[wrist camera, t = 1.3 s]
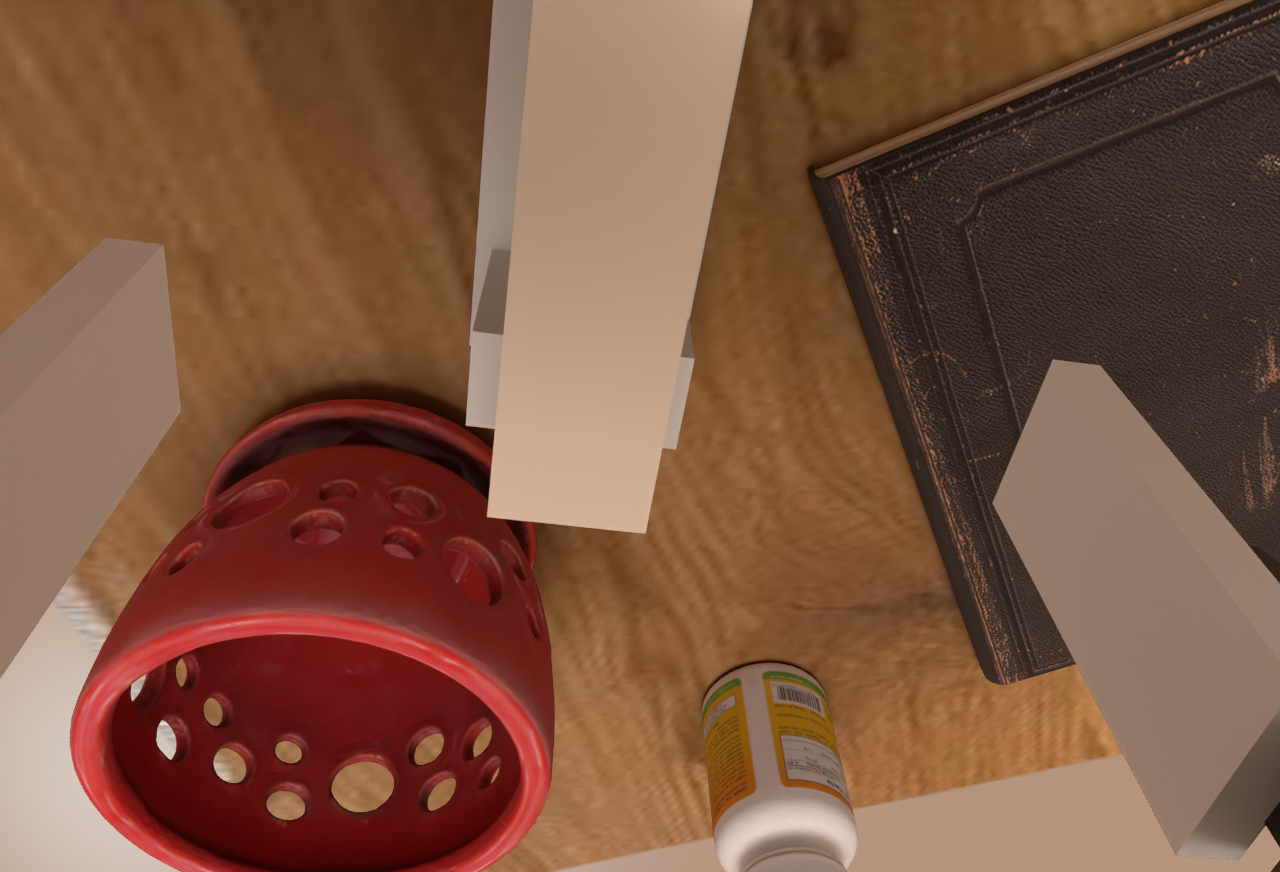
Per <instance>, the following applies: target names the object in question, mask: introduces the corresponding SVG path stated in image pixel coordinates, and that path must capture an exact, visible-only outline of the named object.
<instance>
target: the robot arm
mask: <svg viewBox="0 0 1280 872" xmlns="http://www.w3.org/2000/svg"><path fill="white" fill-rule="evenodd" d="M180 412H181V406H180V397H179V387H178V378H177V368H176V359H175V349H174V340H173V330H172V320H171V311H170V301H169V292H168V282H167V273H166V263H165V254H164V245H163V244H155V243H148V242H140V241H132V240H124V239H117V238H109V237H106V238H105V239H104V240H103V241H102V242H101V243H100V244H99V245H97V246H96V247H95V248H94V249H93V250H92V251H91V252H90V253H89V254H88V255H87V256H85V257H84V258H83V259H82V260H81V261H80V262H79V263H78V264H77V265H76V266H75V267H74V268H72V269H71V270H70V271H69V272H68V273H67V274H66V275H65V276H64V277H63V278H62V279H60V280H59V281H58V282H57V283H56V284H55V285H54V286H53V287H52V288H51V289H50V290H48V291H47V292H46V293H45V294H44V295H43V296H42V297H41V298H40V299H39V300H38V301H37V302H35V303H34V304H33V305H32V306H31V307H30V308H29V309H28V310H27V311H26V312H25V313H23V314H22V315H21V316H20V317H19V318H18V319H17V320H16V321H15V322H14V323H13V324H11V325H10V326H9V327H8V328H7V329H6V330H5V331H4V332H3V333H2V334H1V335H0V678H1V677H2V675H3V674H4V672H5V671H6V669H7V668H8V667H9V665H10V663H11V662H12V661H13V659H14V658H15V656H16V655H17V653H18V652H19V650H20V649H21V647H22V645H23V644H24V643H25V641H26V640H27V638H28V636H29V635H30V634H31V632H32V631H33V629H34V628H35V627H36V625H37V624H38V622H39V620H40V619H41V618H42V616H43V615H44V613H45V612H46V610H47V609H48V607H49V606H50V604H51V603H52V601H53V600H54V598H55V597H56V595H57V594H58V592H59V591H60V590H61V588H62V587H63V585H64V584H65V582H66V581H67V579H68V578H69V576H70V575H71V573H72V572H73V570H74V569H75V567H76V566H77V564H78V563H79V561H80V560H81V558H82V557H83V555H84V554H85V553H86V551H87V550H88V548H89V547H90V545H91V544H92V542H93V541H94V539H95V538H96V536H97V535H98V533H99V532H100V530H101V529H102V527H103V526H104V524H105V523H106V521H107V520H108V518H109V517H110V515H111V514H112V513H113V511H114V510H115V508H116V507H117V505H118V504H119V502H120V501H121V499H122V498H123V496H124V495H125V493H126V492H127V490H128V489H129V487H130V486H131V484H132V483H133V481H134V480H135V478H136V477H137V475H138V474H139V473H140V471H141V470H142V468H143V467H144V465H145V464H146V462H147V461H148V459H149V458H150V456H151V455H152V453H153V452H154V450H155V449H156V447H157V446H158V444H159V443H160V441H161V440H162V438H163V437H164V436H165V434H166V433H167V431H168V430H169V428H170V427H171V425H172V424H173V422H174V421H175V419H176V418H177V416H178V415H179V413H180ZM993 505H994V507H995V509H996V511H997V513H998V515H999V517H1000V519H1001V521H1002V522H1003V524H1004V526H1005V528H1006V530H1007V532H1008V534H1009V536H1010V538H1011V540H1012V542H1013V544H1014V546H1015V547H1016V549H1017V551H1018V553H1019V555H1020V557H1021V559H1022V561H1023V563H1024V565H1025V567H1026V569H1027V570H1028V572H1029V574H1030V576H1031V578H1032V580H1033V582H1034V584H1035V586H1036V588H1037V590H1038V592H1039V594H1040V595H1041V597H1042V599H1043V601H1044V603H1045V605H1046V607H1047V609H1048V611H1049V613H1050V615H1051V617H1052V619H1053V620H1054V622H1055V624H1056V626H1057V628H1058V630H1059V632H1060V634H1061V636H1062V638H1063V640H1064V642H1065V643H1066V645H1067V647H1068V649H1069V651H1070V653H1071V655H1072V657H1073V659H1074V661H1075V663H1076V665H1077V667H1078V668H1079V670H1080V672H1081V674H1082V676H1083V678H1084V680H1085V682H1086V684H1087V686H1088V688H1089V690H1090V691H1091V693H1092V695H1093V697H1094V699H1095V701H1096V703H1097V705H1098V707H1099V709H1100V711H1101V713H1102V715H1103V716H1104V718H1105V720H1106V722H1107V724H1108V726H1109V728H1110V730H1111V732H1112V734H1113V736H1114V738H1115V739H1116V741H1117V743H1118V745H1119V747H1120V749H1121V751H1122V753H1123V755H1124V757H1125V759H1126V761H1127V762H1128V764H1129V766H1130V768H1131V770H1132V772H1133V774H1134V776H1135V778H1136V780H1137V782H1138V784H1139V786H1140V787H1141V789H1142V791H1143V793H1144V795H1145V797H1146V799H1147V801H1148V803H1149V805H1150V807H1151V808H1152V811H1153V812H1154V814H1155V816H1156V818H1157V820H1158V822H1159V824H1160V826H1161V827H1162V830H1163V832H1164V834H1165V836H1166V837H1167V839H1168V841H1169V843H1170V845H1171V847H1172V849H1173V851H1174V853H1175V855H1177V856H1189V857H1204V858H1215V859H1228V860H1240V858H1241V857H1242V856H1243V854H1244V853H1245V852H1246V850H1247V849H1248V848H1249V847H1250V845H1251V844H1252V843H1253V841H1254V840H1255V839H1256V837H1257V836H1258V834H1259V833H1260V832H1261V831H1262V829H1263V828H1264V827H1265V826H1267V828H1268V829H1269V831H1270V832H1271V834H1272V836H1273V837H1274V839H1275V840H1276V842H1277V844H1278V845H1279V847H1280V563H1279V562H1278V561H1276V560H1275V559H1274V558H1272V557H1271V556H1270V555H1268V554H1267V553H1266V552H1264V551H1263V550H1262V549H1260V548H1259V547H1254V546H1248V544H1247V543H1246V542H1245V541H1244V540H1243V538H1242V537H1241V536H1240V535H1239V533H1238V532H1237V531H1236V530H1235V529H1234V527H1233V526H1232V525H1231V524H1230V523H1229V521H1228V520H1227V519H1226V518H1225V516H1224V515H1223V514H1222V513H1221V512H1220V510H1219V509H1218V508H1217V507H1216V506H1215V504H1214V503H1213V502H1212V501H1211V499H1210V498H1209V497H1208V496H1207V495H1206V493H1205V492H1204V491H1203V490H1202V489H1201V487H1200V486H1199V485H1198V484H1197V482H1196V481H1195V480H1194V479H1193V478H1192V476H1191V475H1190V474H1189V473H1188V472H1187V470H1186V469H1185V468H1184V467H1183V465H1182V464H1181V463H1180V462H1179V461H1178V459H1177V458H1176V457H1175V456H1174V455H1173V453H1172V452H1171V451H1170V450H1169V448H1168V447H1167V446H1166V445H1165V444H1164V442H1163V441H1162V440H1161V439H1160V438H1159V436H1158V435H1157V434H1156V433H1155V431H1154V430H1153V429H1152V428H1151V427H1150V425H1149V424H1148V423H1147V422H1146V421H1145V419H1144V418H1143V417H1142V416H1141V414H1140V413H1139V412H1138V411H1137V410H1136V408H1135V407H1134V406H1133V405H1132V404H1131V402H1130V401H1129V400H1128V399H1127V397H1126V396H1125V395H1124V394H1123V393H1122V391H1121V390H1120V389H1119V388H1118V387H1117V385H1116V384H1115V383H1114V382H1113V380H1112V379H1111V378H1110V377H1109V376H1108V374H1107V373H1106V372H1105V371H1104V370H1103V368H1102V367H1101V366H1100V365H1092V364H1085V363H1077V362H1069V361H1061V360H1054V359H1053V360H1052V363H1051V365H1050V368H1049V370H1048V372H1047V375H1046V377H1045V379H1044V382H1043V384H1042V387H1041V389H1040V391H1039V394H1038V396H1037V398H1036V401H1035V403H1034V406H1033V408H1032V410H1031V413H1030V415H1029V417H1028V420H1027V422H1026V425H1025V427H1024V429H1023V432H1022V434H1021V436H1020V439H1019V441H1018V443H1017V446H1016V448H1015V451H1014V453H1013V455H1012V458H1011V460H1010V462H1009V465H1008V467H1007V470H1006V472H1005V474H1004V477H1003V479H1002V481H1001V484H1000V486H999V489H998V491H997V493H996V496H995V498H994V500H993ZM1271 872H1280V861H1279V862H1278V863H1277V865H1276V866H1275V867H1274V869H1273V870H1272V871H1271Z"/></svg>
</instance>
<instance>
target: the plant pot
mask: <svg viewBox="0 0 1280 872" xmlns="http://www.w3.org/2000/svg"><path fill="white" fill-rule="evenodd" d="M492 456H493V450H492V449H491V448H490V447H489V446H487V445H486V444H485V443H484V442H483V441H481V440H480V439H479V438H477V437H476V436H475V435H473V434H472V433H470V432H469V431H467V430H466V429H464V428H462V427H460V426H459V425H457V424H455V423H453V422H451V421H449V420H447V419H445V418H442V417H440V416H438V415H436V414H434V413H431V412H429V411H426V410H423V409H420V408H417V407H412V406H408V405H404V404H400V403H395V402H389V401H383V400H370V399H339V400H329V401H322V402H315V403H310V404H306V405H302V406H299V407H295V408H293V409H290V410H287V411H284V412H282V413H280V414H278V415H276V416H274V417H272V418H270V419H268V420H266V421H265V422H263V423H261V424H260V425H258V426H257V427H255V428H254V429H252V430H251V431H250V432H248V433H247V434H245V435H244V436H243V437H242V438H241V439H240V440H238V441H237V442H236V443H235V445H234V446H233V447H232V448H231V449H230V450H229V451H228V452H227V453H226V454H225V456H224V457H223V458H222V460H221V461H220V463H219V464H218V466H217V467H216V469H215V471H214V473H213V475H212V477H211V479H210V482H209V484H208V487H207V490H206V494H205V498H204V502H203V509H202V510H201V511H200V512H199V513H198V514H197V515H196V516H195V517H194V518H193V519H192V520H191V521H190V522H189V523H188V524H187V525H186V526H185V527H184V528H183V529H182V530H181V531H180V532H179V533H178V534H177V535H176V537H175V538H174V539H173V540H172V541H171V542H170V544H169V545H168V546H167V547H166V548H165V550H164V551H163V552H162V554H161V555H160V556H159V558H158V559H157V560H156V562H155V563H154V564H153V566H152V567H151V568H150V570H149V571H148V573H147V574H146V576H145V577H144V578H143V580H142V581H141V583H140V584H139V586H138V587H137V589H136V591H135V592H134V594H133V595H132V597H131V598H130V600H129V601H128V603H127V605H126V606H125V608H124V609H123V611H122V612H121V614H120V616H119V618H118V619H117V621H116V623H115V625H114V626H113V628H112V630H111V632H110V633H109V635H108V637H107V639H106V641H105V642H104V644H103V646H102V648H101V650H100V652H99V654H98V656H97V658H96V660H95V663H94V664H93V667H92V669H91V671H90V673H89V675H88V677H87V679H86V682H85V684H84V686H83V688H82V691H81V693H80V695H79V697H78V700H77V703H76V706H75V709H74V712H73V715H72V720H71V729H70V748H71V755H72V761H73V765H74V769H75V772H76V774H77V776H78V779H79V781H80V783H81V785H82V787H83V789H84V791H85V793H86V794H87V796H88V797H89V799H90V800H91V802H92V803H93V805H94V806H95V807H96V808H97V810H98V811H99V812H100V813H101V815H102V816H103V817H104V818H105V819H106V820H107V821H108V822H109V823H110V824H111V825H112V826H113V827H114V828H115V829H116V830H117V831H119V833H121V834H122V835H123V836H124V837H125V838H127V839H128V840H129V841H131V842H132V843H133V844H135V845H136V846H137V847H139V848H140V849H142V850H143V851H144V852H146V853H147V854H149V855H151V856H152V857H154V858H156V859H158V860H160V861H161V862H163V863H165V864H167V865H169V866H171V867H173V868H175V869H177V870H179V871H181V872H481V871H483V870H484V869H486V868H488V867H490V866H491V865H493V864H494V863H496V862H497V861H499V860H500V859H501V858H503V857H504V856H505V855H506V854H508V853H509V852H510V851H511V850H512V849H513V848H514V847H515V846H516V845H517V844H518V843H519V842H520V841H521V840H522V839H523V838H524V837H525V835H526V834H527V833H528V831H529V830H530V829H531V828H532V826H533V825H534V824H535V822H536V820H537V818H538V816H539V815H540V813H541V811H542V808H543V806H544V804H545V801H546V798H547V795H548V792H549V788H550V783H551V778H552V762H553V748H554V724H555V711H554V689H553V676H552V662H551V645H550V639H549V632H548V627H547V622H546V618H545V614H544V610H543V605H542V601H541V597H540V593H539V589H538V586H537V583H536V580H535V577H534V575H533V569H534V564H535V558H536V548H537V539H536V527H535V522H529V521H520V520H510V519H501V518H491V517H487V511H488V500H489V489H490V478H491V467H492ZM181 658H182V659H183V661H184V663H185V665H186V669H187V677H186V681H185V683H184V685H183V686H182V687H181V686H180V685H179V684H178V681H177V678H176V666H177V663H178V661H179V660H180V659H181ZM146 673H147V675H146V679H145V681H144V684H143V687H142V689H141V691H140V693H139V695H138V696H137V697H136V698H135V700H134V701H132V700H131V695H130V693H131V684H132V683H134V682H135V681H136V680H137V679H139V678H140V677H142V676H143V675H145V674H146ZM208 698H213V699H215V700H216V701H217V702H218V703H219V704H220V705H221V708H222V712H223V716H222V721H221V722H220V724H219V725H218V726H214V725H211V724H210V723H209V722H208V721H207V720H206V718H205V716H204V712H203V709H204V703H205V701H206V700H207V699H208ZM161 720H164V721H166V722H167V723H168V724H169V726H170V727H171V728H172V730H173V732H174V734H175V736H176V742H177V746H176V752H175V755H174V757H173V758H172V760H170V759H168V758H167V757H166V756H165V755H164V754H163V753H162V751H161V750H160V749H159V747H158V746H157V742H156V736H157V728H158V726H159V724H160V722H161ZM490 725H491V727H492V736H491V740H490V743H489V745H488V747H487V748H486V749H485V750H484V751H483V752H482V753H481V754H480V755H478V756H476V757H475V758H474V753H473V746H474V743H475V740H476V738H477V737H478V736H479V734H480V733H481V732H482V731H483V730H484V729H485V728H486V727H488V726H490ZM439 733H440V734H442V735H443V738H444V745H443V749H442V752H441V753H440V754H439V756H438V757H437V758H436V759H435V760H434V761H432V762H431V763H427V764H424V765H417V764H416V763H415V759H414V754H415V750H416V747H417V746H418V745H419V743H420V742H421V741H422V740H423V739H424V738H426V737H428V736H430V735H432V734H439ZM282 741H291V742H293V743H295V744H296V745H298V746H299V748H300V749H301V752H302V757H301V759H300V760H299V761H298V762H296V763H291V764H289V763H286V762H283V761H281V760H280V759H279V758H278V757H277V756H276V754H275V747H276V745H277V744H278V743H279V742H282ZM221 748H228V749H231V750H233V751H235V752H237V753H238V754H239V755H240V756H241V757H242V759H243V760H244V762H245V765H246V775H245V778H244V779H243V780H242V781H241V782H239V783H229V782H226V781H224V780H222V779H221V778H220V777H219V776H218V775H217V773H216V771H215V769H214V764H213V760H214V757H215V755H216V753H217V752H218V750H220V749H221ZM358 762H374V763H378V764H381V765H383V766H385V767H386V768H387V769H388V770H389V771H390V772H391V774H392V775H393V777H394V789H393V792H392V794H391V796H390V797H389V799H388V800H387V801H386V802H385V803H384V804H382V805H381V806H380V807H378V808H377V809H375V810H372V811H368V812H353V811H349V810H347V809H345V808H343V807H342V806H340V805H339V803H338V802H337V801H336V799H335V798H334V796H333V794H332V791H331V787H332V782H333V780H334V778H335V776H336V775H337V774H338V773H339V772H340V771H341V770H342V769H343V768H344V767H346V766H349V765H351V764H354V763H358ZM499 767H500V769H499V773H498V775H497V777H496V779H495V780H494V782H493V783H492V784H491V780H492V778H493V776H494V773H495V772H496V770H497V769H498V768H499ZM448 778H454V779H455V780H456V788H455V791H454V794H453V796H452V797H451V799H450V800H449V801H448V802H447V803H446V804H445V805H444V806H442V807H440V808H439V809H436V810H434V811H430V810H429V809H428V797H429V795H430V793H431V792H432V790H433V789H434V787H435V786H436V785H437V784H438V783H440V782H442V781H443V780H445V779H448ZM277 791H290V792H293V793H295V794H297V795H298V796H300V797H301V798H302V800H303V801H304V803H305V813H304V814H303V815H302V816H301V817H299V818H298V819H294V820H282V819H279V818H276V817H275V816H273V815H272V814H271V813H270V812H269V811H268V809H267V806H266V802H267V799H268V798H269V796H270V795H271V794H273V793H275V792H277Z"/></svg>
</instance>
